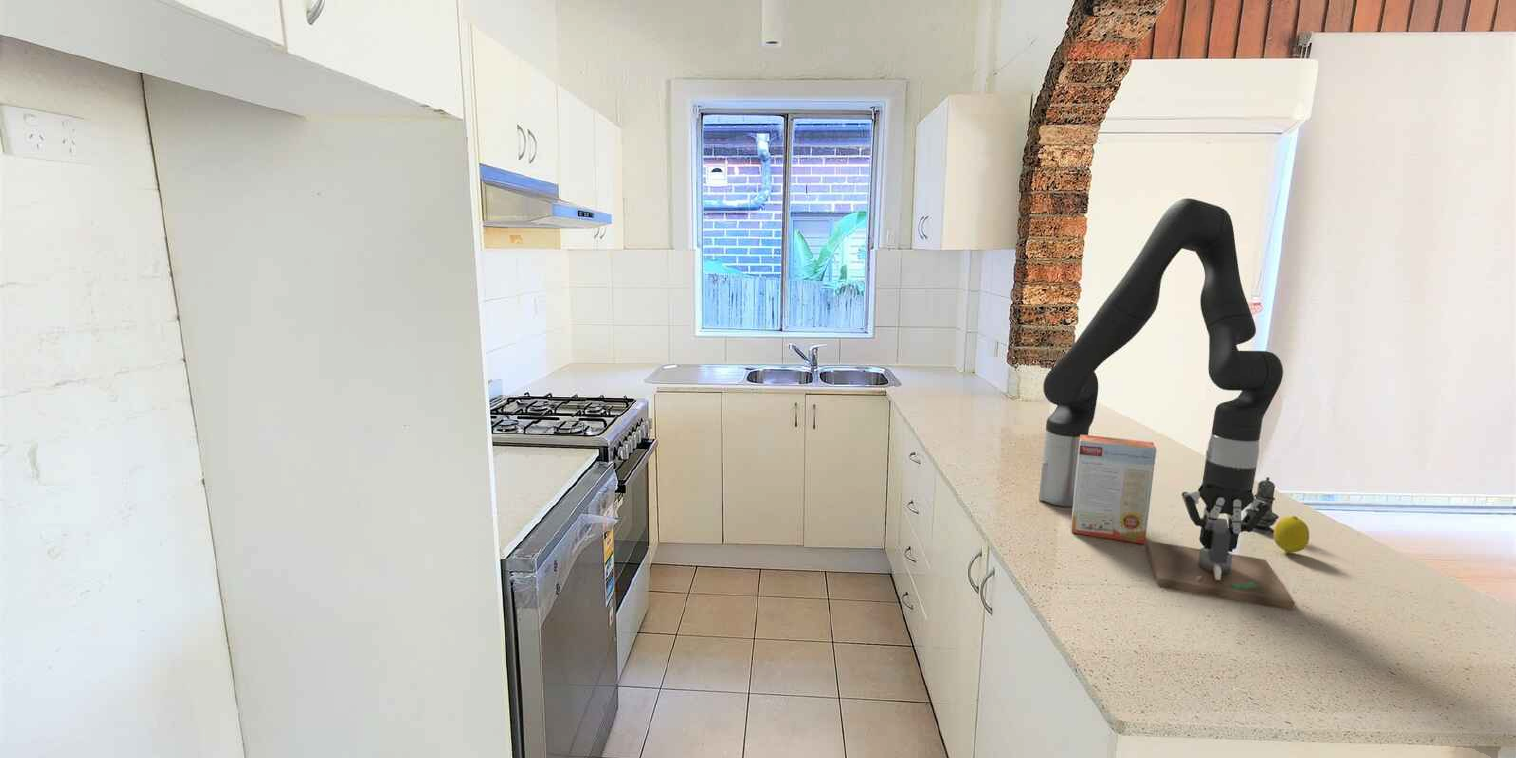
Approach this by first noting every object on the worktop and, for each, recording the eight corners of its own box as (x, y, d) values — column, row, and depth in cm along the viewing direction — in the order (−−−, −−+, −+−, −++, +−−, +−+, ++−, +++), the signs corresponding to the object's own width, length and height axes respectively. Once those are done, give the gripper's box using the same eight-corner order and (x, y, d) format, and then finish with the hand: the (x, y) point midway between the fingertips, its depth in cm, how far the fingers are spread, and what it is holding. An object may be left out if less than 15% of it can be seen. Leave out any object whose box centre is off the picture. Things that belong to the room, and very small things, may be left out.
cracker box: (1142, 534, 141) (1154, 440, 137) (1145, 545, 136) (1158, 448, 132) (1070, 522, 147) (1080, 432, 143) (1070, 533, 142) (1080, 439, 138)
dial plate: (1157, 585, 120) (1158, 576, 120) (1145, 547, 135) (1147, 538, 135) (1293, 610, 112) (1295, 600, 112) (1264, 566, 127) (1266, 557, 127)
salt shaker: (1281, 535, 141) (1291, 482, 139) (1251, 533, 142) (1259, 480, 140) (1267, 524, 147) (1276, 473, 145) (1237, 522, 148) (1245, 471, 146)
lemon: (1298, 549, 135) (1305, 512, 133) (1310, 561, 130) (1317, 523, 128) (1266, 545, 137) (1272, 509, 135) (1277, 557, 131) (1283, 519, 130)
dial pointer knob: (1196, 555, 128) (1202, 515, 126) (1227, 561, 126) (1234, 520, 124) (1200, 578, 119) (1207, 535, 117) (1234, 585, 117) (1241, 542, 115)
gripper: (1192, 462, 118) (1179, 551, 121) (1286, 470, 114) (1270, 563, 117) (1180, 450, 125) (1168, 535, 128) (1268, 457, 121) (1253, 545, 124)
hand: (1217, 548), depth 123 cm, fingers closed on dial pointer knob, 3 cm apart
